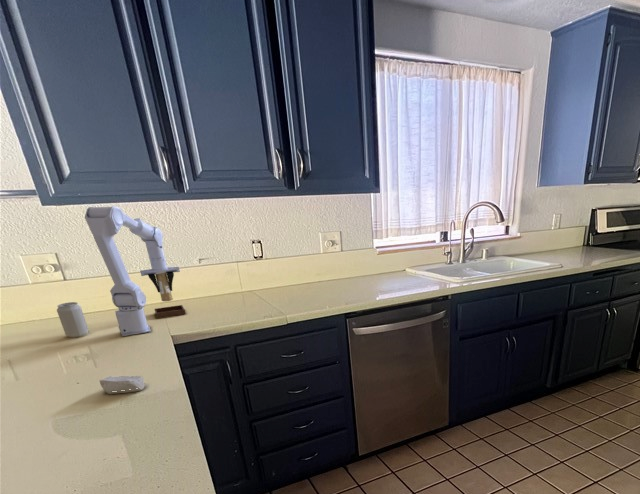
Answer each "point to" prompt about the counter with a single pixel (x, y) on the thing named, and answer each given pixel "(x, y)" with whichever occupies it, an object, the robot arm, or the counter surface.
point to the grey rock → (122, 384)
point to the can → (72, 319)
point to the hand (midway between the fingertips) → (165, 291)
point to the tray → (169, 311)
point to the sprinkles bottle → (163, 286)
